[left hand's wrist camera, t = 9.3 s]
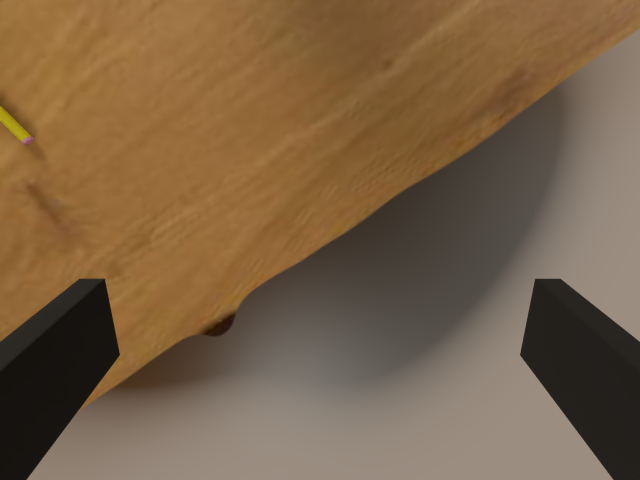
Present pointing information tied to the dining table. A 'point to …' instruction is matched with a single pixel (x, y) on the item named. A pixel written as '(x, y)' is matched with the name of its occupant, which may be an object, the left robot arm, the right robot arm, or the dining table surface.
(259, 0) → the dining table surface
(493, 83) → the dining table surface
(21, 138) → the pencil
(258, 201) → the dining table surface
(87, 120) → the dining table surface
